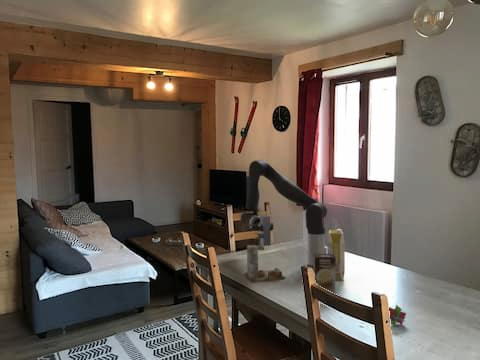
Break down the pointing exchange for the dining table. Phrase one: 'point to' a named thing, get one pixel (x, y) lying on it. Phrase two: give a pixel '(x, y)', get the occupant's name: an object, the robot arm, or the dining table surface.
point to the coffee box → (325, 270)
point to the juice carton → (337, 251)
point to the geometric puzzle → (396, 315)
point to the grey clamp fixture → (264, 230)
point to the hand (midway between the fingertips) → (267, 229)
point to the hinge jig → (253, 267)
